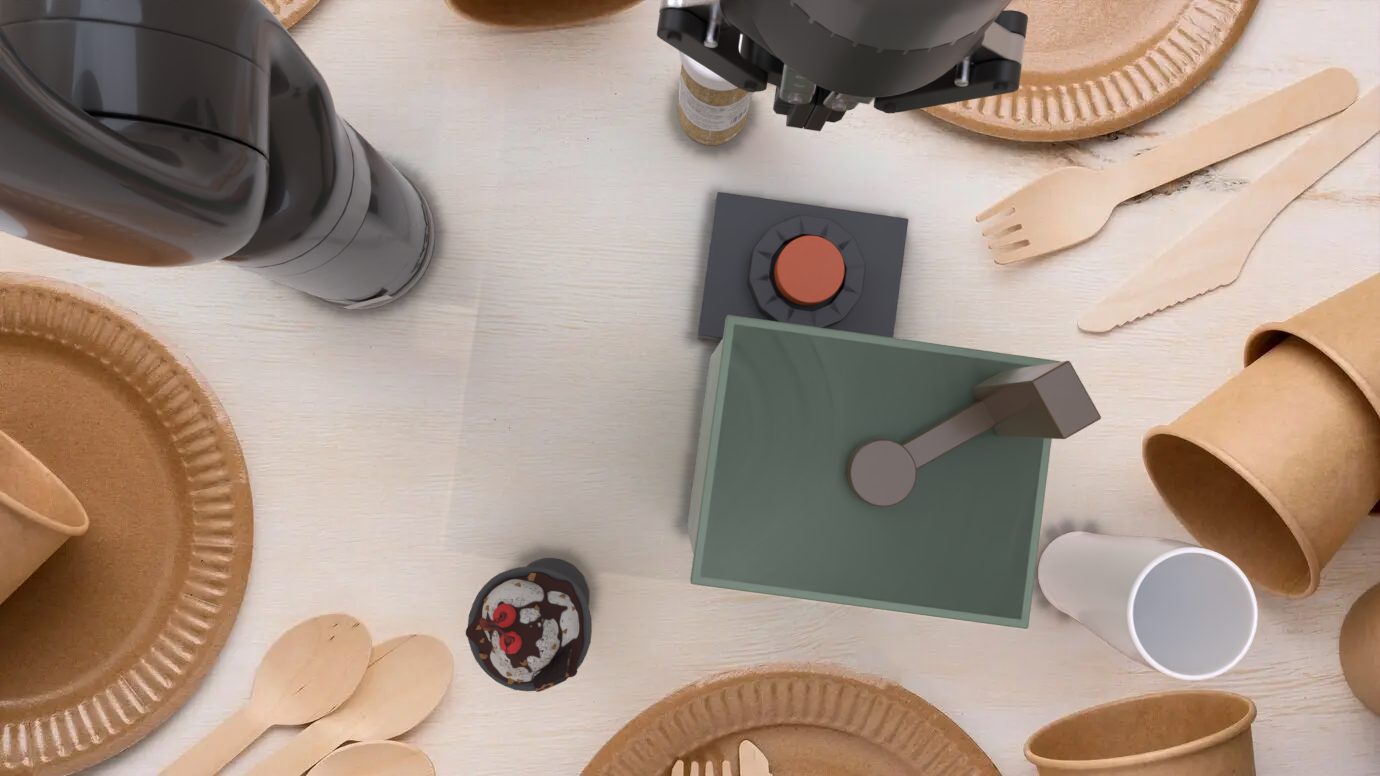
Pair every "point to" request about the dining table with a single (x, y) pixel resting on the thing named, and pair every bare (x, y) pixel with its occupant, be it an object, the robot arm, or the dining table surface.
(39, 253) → the dining table surface
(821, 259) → the button
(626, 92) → the dining table surface
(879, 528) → the block
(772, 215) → the control box
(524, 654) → the sundae
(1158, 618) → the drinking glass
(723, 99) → the sprinkles bottle
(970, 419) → the lever
